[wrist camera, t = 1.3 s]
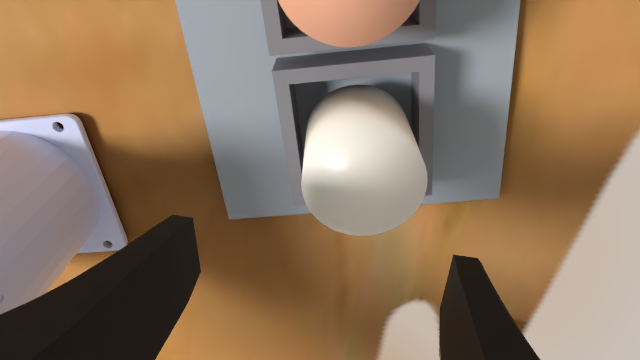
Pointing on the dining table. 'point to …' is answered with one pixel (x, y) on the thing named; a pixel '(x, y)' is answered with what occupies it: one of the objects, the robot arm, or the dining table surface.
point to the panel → (343, 70)
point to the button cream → (361, 162)
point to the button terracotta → (348, 19)
